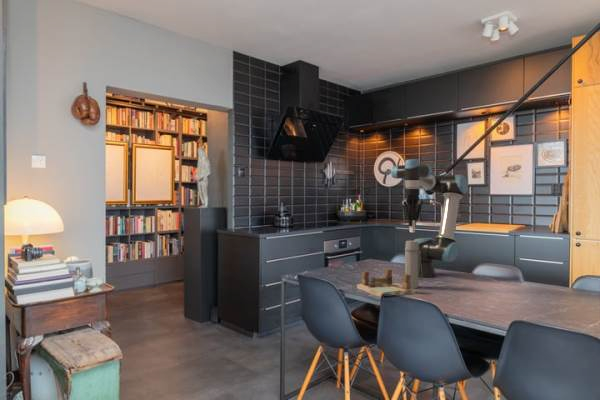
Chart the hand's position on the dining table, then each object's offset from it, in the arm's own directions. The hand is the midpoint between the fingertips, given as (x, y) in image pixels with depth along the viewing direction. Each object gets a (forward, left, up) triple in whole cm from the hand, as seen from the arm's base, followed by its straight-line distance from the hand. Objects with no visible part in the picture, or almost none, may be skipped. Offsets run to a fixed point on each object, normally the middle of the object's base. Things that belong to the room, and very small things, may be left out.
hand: (412, 232), depth 210 cm
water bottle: (-1, 0, -30) cm, 30 cm away
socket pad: (+21, +5, -28) cm, 36 cm away
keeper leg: (+19, -3, -28) cm, 33 cm away
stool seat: (+17, 0, -30) cm, 34 cm away
